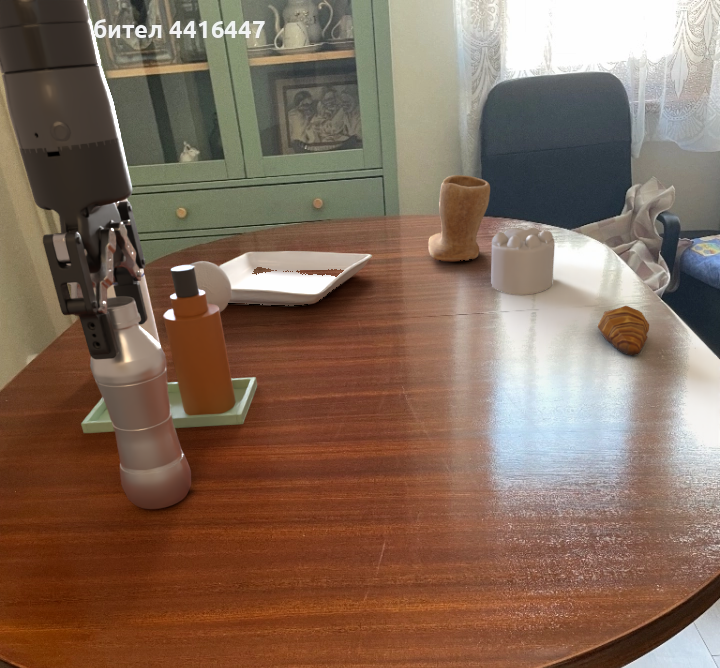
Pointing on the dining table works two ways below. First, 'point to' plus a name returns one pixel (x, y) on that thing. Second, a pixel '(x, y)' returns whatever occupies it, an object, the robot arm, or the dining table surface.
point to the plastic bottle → (141, 412)
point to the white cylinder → (213, 283)
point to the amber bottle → (198, 347)
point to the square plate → (288, 276)
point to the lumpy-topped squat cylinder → (522, 261)
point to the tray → (243, 396)
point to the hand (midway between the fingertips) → (121, 339)
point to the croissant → (625, 329)
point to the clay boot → (459, 218)
